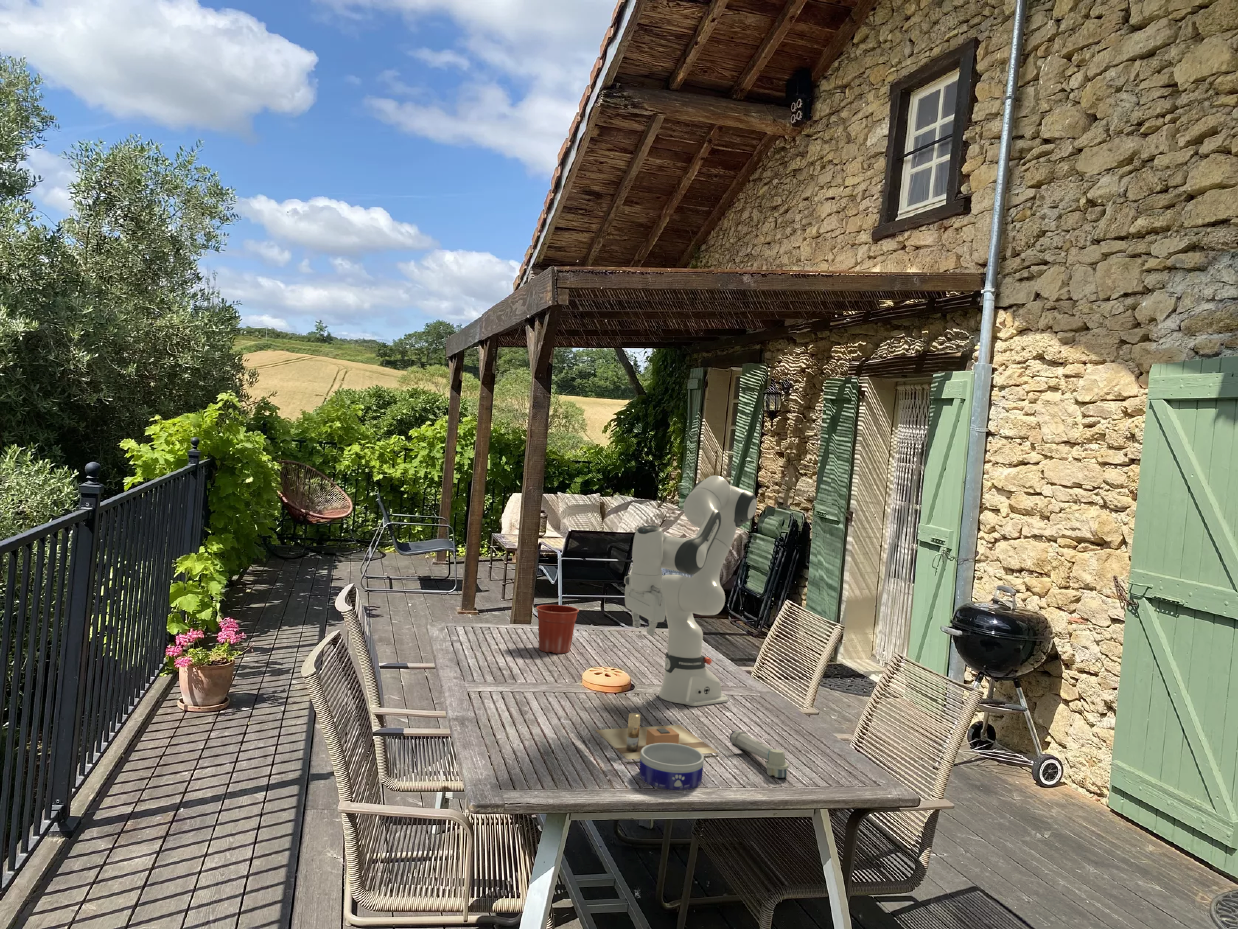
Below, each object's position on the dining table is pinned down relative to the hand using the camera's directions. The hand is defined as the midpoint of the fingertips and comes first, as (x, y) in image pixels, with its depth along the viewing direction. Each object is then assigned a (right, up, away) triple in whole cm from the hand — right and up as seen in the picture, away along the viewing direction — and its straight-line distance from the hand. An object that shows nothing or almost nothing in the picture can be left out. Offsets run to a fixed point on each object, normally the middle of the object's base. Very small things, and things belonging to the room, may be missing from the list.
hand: (643, 630), depth 239 cm
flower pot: (-32, -24, +82) cm, 92 cm away
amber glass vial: (-4, -26, -24) cm, 35 cm away
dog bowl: (+5, -28, -38) cm, 47 cm away
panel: (+3, -27, -16) cm, 32 cm away
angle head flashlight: (+29, -30, -21) cm, 47 cm away
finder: (+4, -26, -20) cm, 33 cm away
